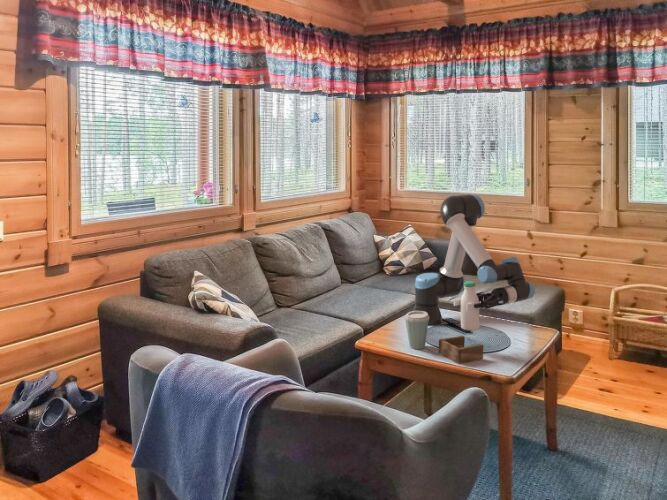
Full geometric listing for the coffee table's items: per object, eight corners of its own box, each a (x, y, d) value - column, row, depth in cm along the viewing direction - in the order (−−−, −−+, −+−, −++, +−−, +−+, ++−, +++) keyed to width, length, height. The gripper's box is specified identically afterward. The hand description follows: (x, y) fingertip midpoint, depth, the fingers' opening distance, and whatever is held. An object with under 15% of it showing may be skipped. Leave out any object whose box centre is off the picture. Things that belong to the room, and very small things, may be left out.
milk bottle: (480, 331, 247) (479, 284, 244) (461, 331, 249) (460, 284, 245) (478, 325, 255) (478, 279, 251) (460, 325, 256) (459, 280, 252)
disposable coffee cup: (424, 352, 252) (424, 318, 250) (400, 348, 258) (400, 314, 255) (432, 345, 262) (433, 311, 259) (409, 341, 267) (409, 308, 264)
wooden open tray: (438, 353, 251) (438, 339, 250) (462, 349, 256) (462, 335, 255) (458, 364, 239) (458, 349, 238) (482, 359, 243) (483, 345, 242)
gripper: (520, 309, 249) (476, 319, 239) (487, 298, 267) (445, 307, 257) (520, 292, 247) (476, 301, 238) (487, 282, 265) (445, 290, 256)
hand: (460, 304), depth 247 cm, fingers closed on milk bottle, 7 cm apart
